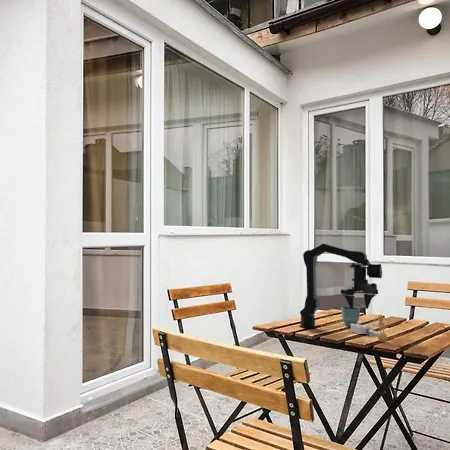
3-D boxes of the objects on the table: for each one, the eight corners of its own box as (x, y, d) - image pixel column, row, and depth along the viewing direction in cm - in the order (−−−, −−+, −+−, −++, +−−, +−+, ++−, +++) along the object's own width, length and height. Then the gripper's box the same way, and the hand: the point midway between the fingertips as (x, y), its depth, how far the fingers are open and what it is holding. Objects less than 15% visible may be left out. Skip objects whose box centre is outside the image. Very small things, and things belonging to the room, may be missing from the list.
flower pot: (357, 323, 255) (357, 307, 256) (360, 326, 247) (360, 309, 247) (340, 323, 256) (341, 306, 256) (343, 326, 247) (343, 309, 248)
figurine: (375, 343, 207) (375, 315, 207) (370, 340, 213) (370, 313, 213) (393, 343, 208) (394, 316, 208) (387, 340, 214) (388, 314, 214)
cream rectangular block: (366, 334, 226) (366, 326, 227) (360, 335, 225) (360, 326, 225) (357, 332, 233) (357, 323, 233) (350, 332, 231) (350, 324, 231)
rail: (371, 337, 219) (371, 330, 219) (344, 329, 238) (345, 322, 238) (382, 336, 222) (382, 329, 222) (354, 328, 240) (355, 322, 240)
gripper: (355, 278, 219) (354, 312, 218) (386, 278, 226) (385, 310, 225) (340, 276, 229) (339, 308, 228) (370, 276, 236) (370, 307, 236)
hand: (359, 309), depth 229 cm, fingers open, 9 cm apart
